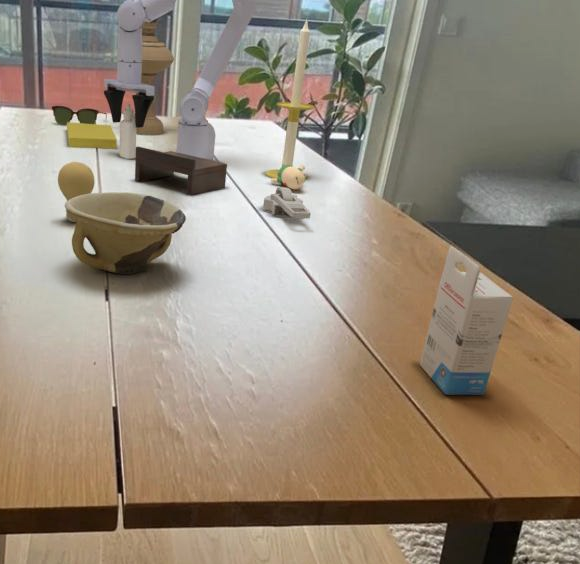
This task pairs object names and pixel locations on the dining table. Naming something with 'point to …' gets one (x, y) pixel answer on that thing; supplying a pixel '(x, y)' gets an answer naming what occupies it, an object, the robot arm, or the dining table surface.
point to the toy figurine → (290, 176)
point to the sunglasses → (83, 115)
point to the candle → (295, 102)
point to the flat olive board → (90, 135)
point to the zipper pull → (285, 204)
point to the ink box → (464, 328)
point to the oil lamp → (152, 73)
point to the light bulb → (75, 181)
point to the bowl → (122, 229)
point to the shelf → (180, 169)
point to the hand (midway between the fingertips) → (127, 124)
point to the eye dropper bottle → (127, 135)
